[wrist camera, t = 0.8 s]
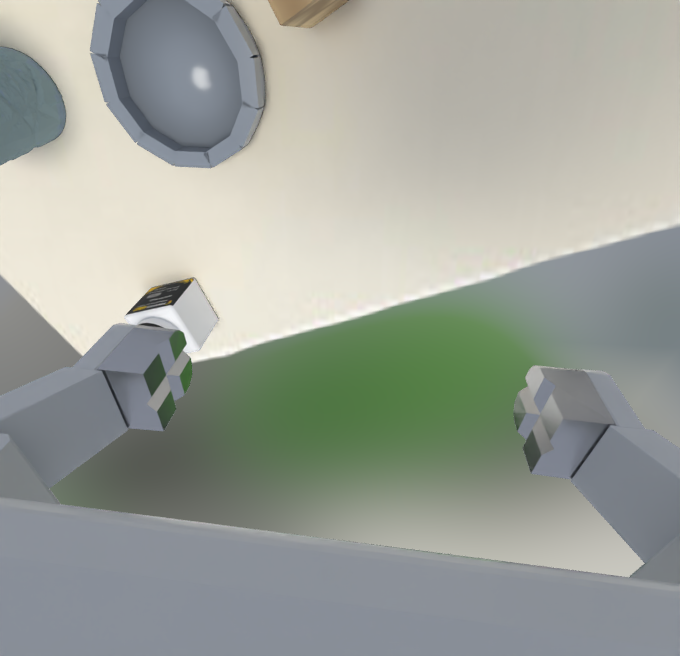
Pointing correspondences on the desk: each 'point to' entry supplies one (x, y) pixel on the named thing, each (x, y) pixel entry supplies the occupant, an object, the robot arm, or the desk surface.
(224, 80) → the bowl
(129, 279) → the desk surface
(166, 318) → the medicine bottle
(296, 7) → the oak block
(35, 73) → the blue-grey cup
